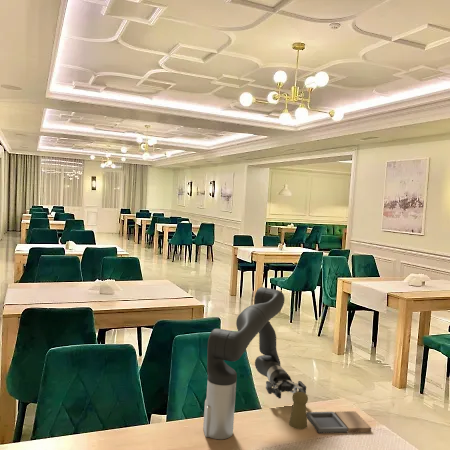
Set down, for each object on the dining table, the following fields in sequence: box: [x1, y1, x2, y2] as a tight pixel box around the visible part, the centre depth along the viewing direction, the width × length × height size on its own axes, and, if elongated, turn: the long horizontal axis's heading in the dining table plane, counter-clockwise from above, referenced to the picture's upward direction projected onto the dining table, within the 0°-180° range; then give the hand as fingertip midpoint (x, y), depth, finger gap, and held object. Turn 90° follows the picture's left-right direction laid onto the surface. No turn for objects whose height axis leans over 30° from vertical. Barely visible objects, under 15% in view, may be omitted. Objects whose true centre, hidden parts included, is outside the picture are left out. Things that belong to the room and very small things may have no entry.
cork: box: [288, 392, 309, 430], centre depth 161 cm, size 6×6×11 cm
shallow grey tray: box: [306, 411, 348, 434], centre depth 163 cm, size 10×12×2 cm
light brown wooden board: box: [333, 411, 372, 434], centre depth 165 cm, size 8×12×2 cm, turn 10°
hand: (291, 395), depth 169 cm, fingers open, 8 cm apart
